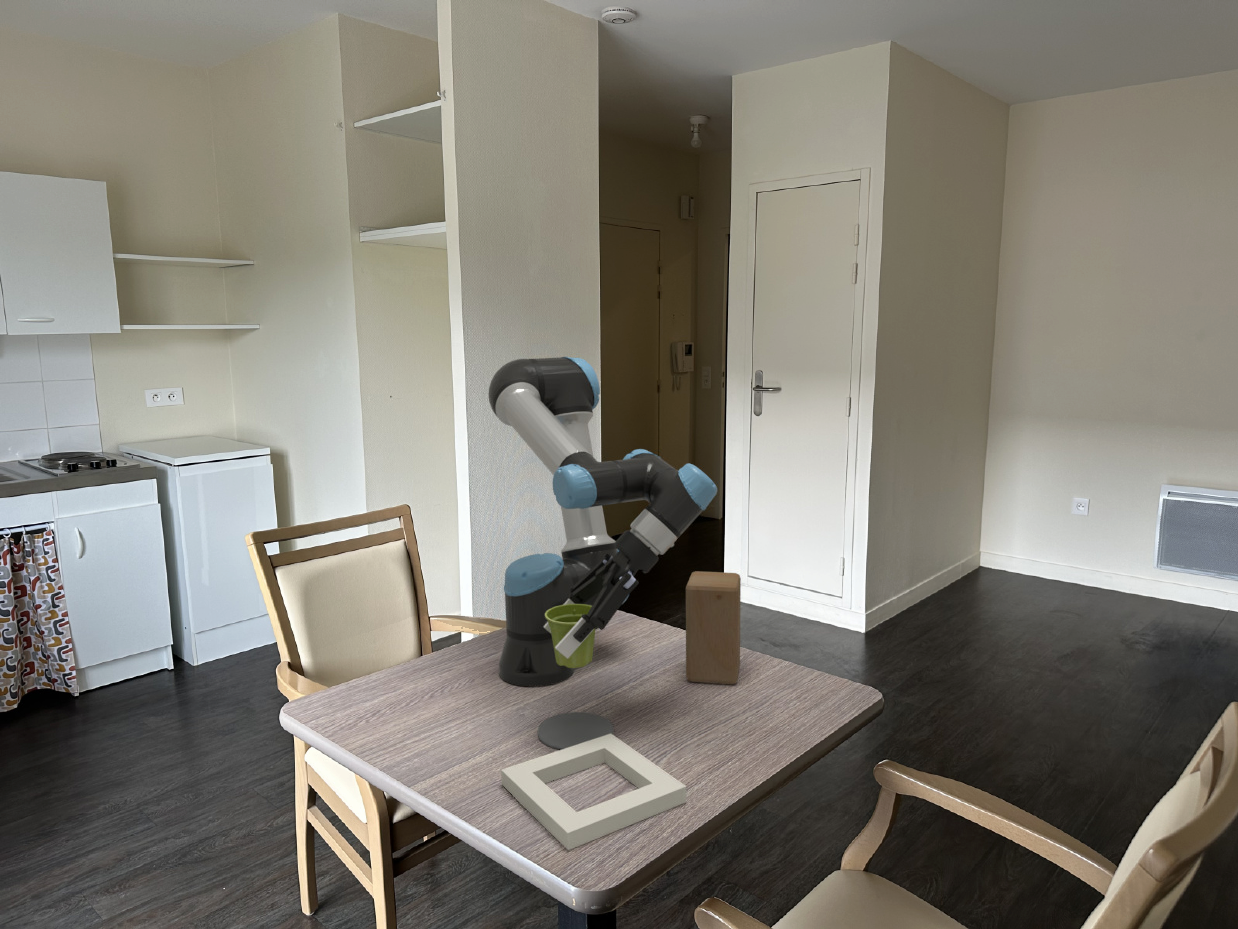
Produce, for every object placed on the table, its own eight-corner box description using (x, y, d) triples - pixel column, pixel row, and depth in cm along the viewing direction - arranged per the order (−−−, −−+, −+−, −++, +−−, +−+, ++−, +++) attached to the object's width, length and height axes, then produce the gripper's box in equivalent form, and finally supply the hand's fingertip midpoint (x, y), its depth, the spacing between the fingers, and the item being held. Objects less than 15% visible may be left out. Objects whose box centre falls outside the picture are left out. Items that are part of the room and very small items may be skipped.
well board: (501, 785, 129) (501, 769, 128) (611, 747, 140) (610, 733, 139) (568, 850, 112) (567, 833, 112) (686, 802, 123) (686, 786, 123)
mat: (524, 728, 147) (524, 725, 147) (588, 708, 154) (588, 705, 154) (562, 759, 136) (562, 755, 136) (628, 736, 143) (628, 733, 143)
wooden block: (737, 686, 163) (737, 586, 159) (685, 683, 165) (685, 584, 161) (740, 666, 172) (740, 571, 169) (691, 663, 174) (691, 569, 171)
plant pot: (608, 668, 140) (607, 618, 139) (552, 676, 137) (551, 625, 136) (594, 648, 149) (593, 601, 148) (541, 655, 146) (539, 607, 145)
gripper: (681, 574, 134) (586, 681, 132) (640, 540, 155) (557, 633, 153) (649, 544, 132) (552, 653, 130) (612, 514, 153) (527, 608, 151)
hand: (555, 642), depth 142 cm, fingers closed on plant pot, 9 cm apart
